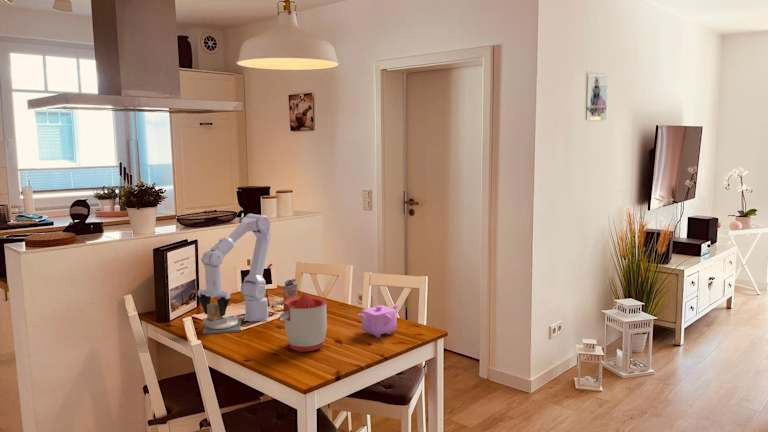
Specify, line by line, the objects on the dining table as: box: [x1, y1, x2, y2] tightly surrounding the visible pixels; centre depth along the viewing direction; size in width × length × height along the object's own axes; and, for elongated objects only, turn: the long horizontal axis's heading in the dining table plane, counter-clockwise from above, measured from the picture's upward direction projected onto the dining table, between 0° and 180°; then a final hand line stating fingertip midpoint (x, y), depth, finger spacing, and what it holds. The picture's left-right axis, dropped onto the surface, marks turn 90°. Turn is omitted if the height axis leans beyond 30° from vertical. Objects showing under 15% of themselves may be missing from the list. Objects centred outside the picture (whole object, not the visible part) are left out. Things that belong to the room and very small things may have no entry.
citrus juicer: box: [279, 293, 328, 353], centre depth 217 cm, size 16×17×20 cm
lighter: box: [282, 278, 298, 303], centre depth 279 cm, size 8×3×10 cm, turn 143°
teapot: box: [357, 304, 400, 338], centre depth 232 cm, size 15×13×11 cm
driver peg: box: [206, 301, 223, 322], centre depth 238 cm, size 4×4×8 cm
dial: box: [202, 316, 239, 329], centre depth 241 cm, size 13×12×3 cm
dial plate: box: [201, 318, 243, 335], centre depth 242 cm, size 14×14×1 cm
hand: (214, 314), depth 237 cm, fingers open, 7 cm apart
